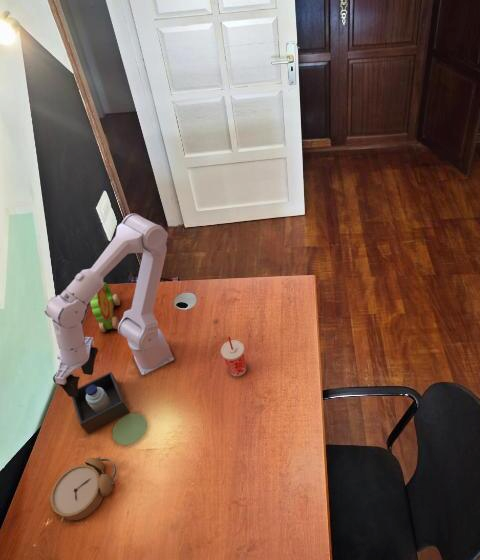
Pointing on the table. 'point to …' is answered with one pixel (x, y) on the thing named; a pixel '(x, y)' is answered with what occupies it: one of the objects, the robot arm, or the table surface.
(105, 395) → the bottle
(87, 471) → the alarm clock
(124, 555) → the table surface
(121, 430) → the coaster
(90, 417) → the bin
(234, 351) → the beverage cup
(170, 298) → the table surface
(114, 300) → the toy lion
